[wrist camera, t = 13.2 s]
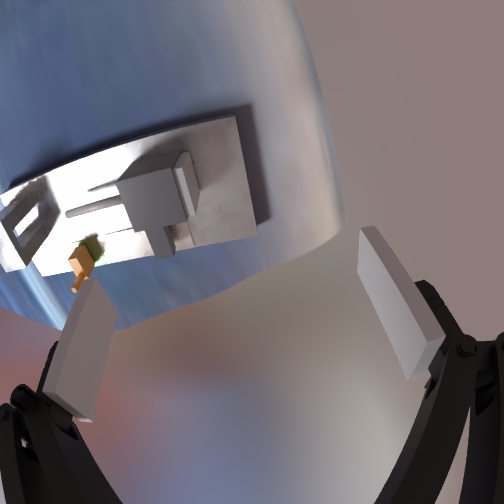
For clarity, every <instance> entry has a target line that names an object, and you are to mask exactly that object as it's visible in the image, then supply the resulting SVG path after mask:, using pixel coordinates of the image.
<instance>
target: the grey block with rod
mask: <svg viewBox="0 0 504 504" xmlns="http://www.w3.org/2000/svg"><path fill="white" fill-rule="evenodd" d="M115 184H116V187H117V190H118V192H119V194H118V195H114V196H111V197H107V198H104V199H100V200H97V201H93V202H90V203H87V204H84V205H80V206H77V207H74V208H71V209H68V210H65V213H64V214H65V218H66V219H71V218H75V217H78V216H81V215H85V214H88V213H92V212H95V211H99V210H102V209H106V208H110V207H113V206H117V205H121V204H123V205H124V208H125V210H126V213H127V215H128V218H129V220H130V222H131V225H132V227H133V230H134V232H135V233H136V232H140V231H145V233H146V236H147V238H148V240H149V243H150V245H151V248H152V250H153V252H154V255H155V257H156V259H160V258H165V257H171V256H174V254H175V250H176V246H175V243H174V241H173V238H172V235H171V232H170V230H169V227H168V226H169V225H174V224H179V223H183V222H187V221H188V217H189V216H194V215H196V212H197V207H198V202H199V197H200V190H199V186H198V183H197V179H196V175H195V172H194V168H193V164H192V160H191V157H190V153H189V152H184V153H181V149H180V150H176V151H172V152H168V153H164V154H161V155H157V156H153V157H149V158H146V159H142V160H139V161H135V162H132V163H131V164H130V165H129V167H128V168H127V169H126V170H125V171H124V172H123V174H122V175H121V176H120V177H119V178H118V180H117V181H116V182H115Z"/></svg>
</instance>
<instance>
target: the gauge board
mask: <svg viewBox="0 0 504 504" xmlns="http://www.w3.org/2000/svg"><path fill="white" fill-rule="evenodd" d="M180 149H181V153H184V152H189V153H190V157H191V160H192V164H193V168H194V172H195V175H196V179H197V183H198V186H199V190H200V197H199V202H198V207H197V212H196V215H194V216H189V217H188V221H187V222H183V223H179V224H174V225H169V226H168V227H169V230H170V232H171V235H172V238H173V241H174V243H175V246H176V250H175V251H178V250H183V249H189V248H194V247H198V246H204V245H209V244H215V243H221V242H226V241H232V240H237V239H243V238H249V237H255V236H258V231H257V225H256V220H255V214H254V209H253V204H252V198H251V193H250V188H249V183H248V177H247V172H246V167H245V162H244V157H243V152H242V146H241V141H240V136H239V131H238V126H237V121H236V116H235V113H231V114H226V115H221V116H216V117H211V118H207V119H202V120H198V121H193V122H189V123H185V124H181V125H177V126H173V127H169V128H166V129H162V130H158V131H155V132H151V133H148V134H144V135H141V136H138V137H134V138H131V139H128V140H125V141H122V142H119V143H116V144H113V145H110V146H107V147H104V148H101V149H98V150H96V151H93V152H90V153H88V154H85V155H82V156H80V157H77V158H74V159H72V160H69V161H67V162H65V163H62V164H60V165H57V166H55V167H53V168H50V169H48V170H46V171H44V172H41V173H39V174H37V175H35V176H33V177H30V178H28V179H26V180H24V181H22V182H20V183H18V184H16V185H14V186H12V187H10V188H8V189H7V190H6V191H4V192H3V193H2V194H1V195H0V197H1V199H2V202H3V204H4V206H5V208H4V209H3V210H1V211H0V263H1V264H2V266H3V267H4V269H5V271H6V272H10V271H14V270H18V269H22V268H26V267H27V265H28V264H29V262H30V261H31V260H32V259H33V261H34V263H35V264H36V266H37V268H38V269H39V271H40V272H41V274H42V276H47V275H52V274H57V273H62V272H68V271H73V270H72V268H71V267H70V265H69V263H68V261H67V259H68V258H69V256H70V254H71V253H72V251H73V250H74V248H75V247H77V246H81V245H85V246H86V248H87V250H88V252H89V254H90V255H91V257H92V259H93V261H94V263H95V266H99V265H104V264H109V263H114V262H119V261H124V260H129V259H135V258H140V257H145V256H151V255H154V252H153V250H152V248H151V245H150V243H149V240H148V238H147V236H146V233H145V231H140V232H136V233H135V232H134V230H133V227H132V225H131V222H130V220H129V218H128V215H127V213H126V210H125V208H124V205H123V204H121V205H117V206H113V207H110V208H106V209H102V210H99V211H95V212H92V213H88V214H85V215H81V216H78V217H75V218H71V219H66V218H65V214H64V213H65V210H68V209H71V208H74V207H77V206H80V205H84V204H87V203H90V202H93V201H97V200H100V199H104V198H107V197H111V196H114V195H118V194H119V192H118V190H117V187H116V184H115V182H116V181H117V180H118V178H119V177H120V176H121V175H122V174H123V172H124V171H125V170H126V169H127V168H128V167H129V165H130V164H131V163H132V162H135V161H139V160H142V159H146V158H149V157H153V156H157V155H161V154H164V153H168V152H172V151H176V150H180ZM15 228H16V230H17V232H18V234H19V236H18V237H17V238H16V236H15V234H14V232H13V230H14V229H15Z"/></svg>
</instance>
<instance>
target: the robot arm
mask: <svg viewBox="0 0 504 504" xmlns="http://www.w3.org/2000/svg"><path fill="white" fill-rule="evenodd" d="M357 273H358V275H359V277H360V279H361V281H362V283H363V285H364V287H365V289H366V291H367V293H368V295H369V297H370V299H371V301H372V303H373V305H374V307H375V309H376V312H377V313H378V316H379V318H380V320H381V322H382V324H383V327H384V329H385V331H386V333H387V335H388V338H389V339H390V342H391V344H392V346H393V349H394V351H395V353H396V355H397V358H398V360H399V362H400V365H401V367H402V370H403V372H404V374H405V377H406V379H407V382H409V381H411V380H414V379H417V378H419V377H422V376H424V375H425V373H426V371H427V370H428V369H429V372H430V374H431V377H430V379H429V380H428V382H427V383H426V385H425V387H424V388H427V389H426V392H425V394H424V398H423V400H422V403H421V406H420V408H419V411H418V414H417V416H416V419H415V421H414V424H413V426H412V429H411V431H410V434H409V436H408V438H407V441H406V443H405V445H404V447H403V450H402V452H401V454H400V456H399V458H398V460H397V462H396V464H395V466H394V468H393V470H392V472H391V474H390V476H389V478H388V480H387V482H386V483H385V485H384V487H383V489H382V491H381V492H380V494H379V496H378V498H377V499H376V501H375V503H374V504H435V501H436V500H437V497H438V495H439V493H440V491H441V489H442V486H443V484H444V482H445V479H446V477H447V474H448V472H449V470H450V467H451V464H452V462H453V459H454V456H455V453H456V451H457V448H458V445H459V442H460V439H461V436H462V432H463V429H464V426H465V422H466V419H467V415H468V411H469V408H470V426H469V439H468V449H467V458H466V466H465V472H464V478H463V485H462V490H461V495H460V500H459V504H504V332H502V333H501V334H499V335H498V337H497V338H496V340H495V341H476V340H475V339H474V338H473V337H472V336H470V335H466V334H464V333H463V332H462V331H461V329H460V327H459V326H458V324H457V322H456V321H455V319H454V318H453V316H452V314H451V313H450V311H449V309H448V308H447V306H446V305H445V303H444V301H443V300H442V298H440V295H439V294H438V292H437V291H436V289H435V288H434V287H433V286H432V285H431V284H429V283H428V282H427V281H425V280H422V281H418V282H413V280H412V279H411V277H410V276H409V274H408V272H407V271H406V269H405V268H404V267H403V265H402V264H401V262H400V261H399V259H398V258H397V256H396V255H395V253H394V252H393V250H392V249H391V248H390V246H389V245H388V243H387V242H386V240H385V239H384V238H383V236H382V235H381V234H380V232H379V231H378V230H377V228H376V227H375V226H369V227H364V228H360V240H359V255H358V268H357ZM117 316H118V313H117V311H116V310H115V308H114V307H113V305H112V303H111V302H110V300H109V299H108V297H107V296H106V294H105V292H104V291H103V289H102V287H101V286H100V284H99V282H98V281H97V279H96V278H90V279H85V280H84V281H83V283H82V285H81V288H80V290H79V292H78V294H77V297H76V299H75V301H74V304H73V306H72V308H71V311H70V313H69V316H68V318H67V321H66V323H65V326H64V328H63V331H62V334H61V336H60V339H59V341H56V342H55V343H54V345H53V346H52V348H51V349H50V352H49V355H48V358H47V361H46V363H45V368H44V369H43V372H42V376H41V378H40V382H39V385H38V388H37V391H36V393H35V392H34V391H33V390H32V389H30V388H29V387H28V386H27V385H25V384H20V385H18V386H17V387H16V388H15V389H14V390H13V392H12V394H11V398H10V404H11V405H12V406H14V407H15V408H14V407H12V406H11V405H10V404H8V403H4V404H2V405H1V406H0V471H1V478H2V485H3V490H4V495H5V500H6V504H123V503H122V502H121V501H120V499H119V498H118V496H117V495H116V493H115V492H114V490H113V489H112V487H111V486H110V484H109V483H108V481H107V480H106V478H105V476H104V475H103V473H102V472H101V470H100V468H99V467H98V465H97V463H96V462H95V460H94V458H93V456H92V455H91V453H90V451H89V449H88V447H87V446H86V444H85V442H84V440H83V438H82V436H81V434H80V432H79V430H78V428H77V426H76V424H75V423H74V422H73V421H72V417H73V416H74V417H76V418H77V419H79V420H80V421H86V422H93V421H94V415H95V410H96V404H97V399H98V394H99V389H100V385H101V380H102V375H103V371H104V367H105V362H106V358H107V354H108V350H109V346H110V342H111V338H112V335H113V331H114V327H115V324H116V320H117ZM21 440H22V441H24V442H25V443H26V447H23V446H22V441H21Z"/></svg>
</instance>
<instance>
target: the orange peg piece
mask: <svg viewBox="0 0 504 504" xmlns="http://www.w3.org/2000/svg"><path fill="white" fill-rule="evenodd" d="M67 261H68V263H69V265H70V267H71V268H72V270H73V272H74V273H75V275H76V277H77V278H76V280H75V282H74V284H73V286H72V288H71V289H72V291H73V293H75V292H78V290H79V288H80V286H81V284H82V282H83V280H84V279H88V278H89V276H90V274H91V272H92V270H93V268H94V266H95V263H94V261H93V259H92V257H91V255H90V254H89V252H88V250H87V248H86V246H85V245H81V246H77V247H75V248H74V250H73V251H72V253H71V254H70V256H69V258H68V259H67Z"/></svg>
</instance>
